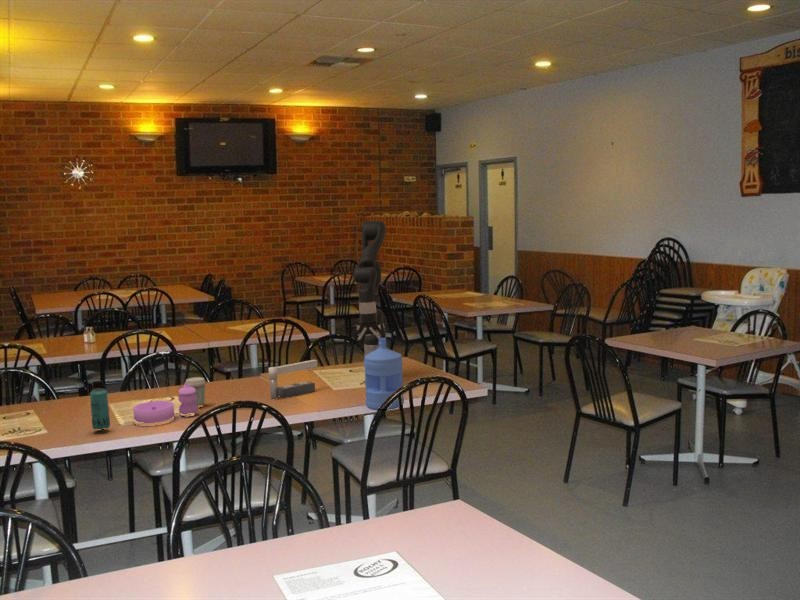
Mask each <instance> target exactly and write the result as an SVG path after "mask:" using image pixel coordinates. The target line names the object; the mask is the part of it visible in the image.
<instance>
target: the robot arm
mask: <svg viewBox="0 0 800 600" xmlns="http://www.w3.org/2000/svg"><path fill="white" fill-rule="evenodd" d="M386 229H387V228H386V224H385V222H384V221H381V220H371V221H368V220H367V221H364V222H362V225H361V250H362V251H361V252H362V253H361V257H360V261H359V262H358V264H357V265H356V267H355V268H354V270H353V273H352V279H353V280H354V282H355V283H357V284H361V289H359V290H358V301H359V302H358V304H359V306H358V308H359V309H358V311H359V324H358V325H357V324H355V325H354V326H353V339H354V340H357V341H358V347H359V348H360V349H363V348H364V349H363V350H364V356H365V355H367V354H369V353H371V352H373V351H375V350H377V349H378V348H379V340H378V339H379V338H386V337H387V333H386V327H385V323H384V320H385V318H384V312H383V310H382V309H379V308H378V309H377V306H376V305H377V304H376V298H375V297H376V295H375V294H376V291H377V290H378V288H379V287H380V285H381V282H382V266H381V264H380V262H379V261H378V259H377V258H378V254H379V253H380V250H381V247H382V245H383V243H384V240H385V238H386V234H387V233H386V232H387V231H386ZM370 241H371V242H370ZM359 330H360V331H361V333H360V334H359V332H358V331H359ZM365 335H366V336H365ZM364 336H365V337H364ZM363 337H364V339H362V338H363Z"/></svg>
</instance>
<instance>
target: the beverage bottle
mask: <svg viewBox="0 0 800 600" xmlns="http://www.w3.org/2000/svg"><path fill="white" fill-rule="evenodd" d="M91 383H92V384H91V387H92V388H94V389H93V390H91V391H90V393H89V397H90V398H89V399H90V409H91V410H90V412H91V413H90V414H91V427H92V429H103V428H108V427H110V426H111V420H110V418H111V417H110V408H109V399H108V391H107V390H106V389H105V388H102V387H104V386H105V384H104V380H101V379H100V380H99V379H98V380H94V381H92V382H91ZM108 429H109V428H108Z"/></svg>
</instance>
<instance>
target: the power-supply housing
mask: <svg viewBox="0 0 800 600" xmlns="http://www.w3.org/2000/svg"><path fill="white" fill-rule="evenodd" d="M277 390H278V396H280V397H279V398H281V397H283V398H282V399H284V398H285V399H287V398H286V397H289V398H294V397H298V396H302V395H306V394H312V393H315V392H316V383H315V382H313V381H309V380H304V381H300V382H295V383H291V384H284V385H281V386H280V385H279V386H277ZM293 396H294V397H293Z"/></svg>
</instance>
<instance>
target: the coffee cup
mask: <svg viewBox="0 0 800 600" xmlns="http://www.w3.org/2000/svg"><path fill="white" fill-rule="evenodd" d="M186 383H189V385H190V387H194V388H195V389H196V391H195V394H196V395H197V399H196V401H195V402H194V403H196V404H197V406H198V405H203V404H204V405H205V394H206V392H205V391H206V383H207V382H206V380H205V378H204V377H201V376H198V377H197V376H196V377H189V378H186V379H185V382H184V384H186Z"/></svg>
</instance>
